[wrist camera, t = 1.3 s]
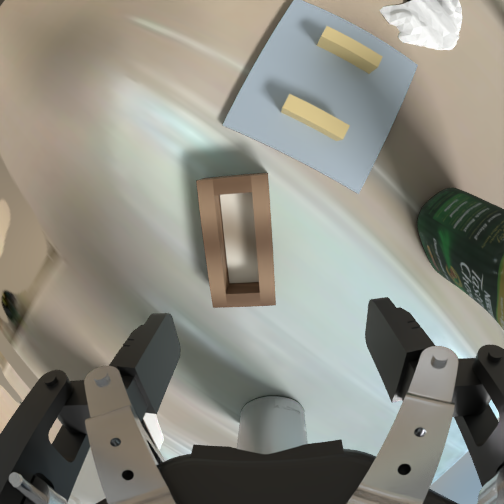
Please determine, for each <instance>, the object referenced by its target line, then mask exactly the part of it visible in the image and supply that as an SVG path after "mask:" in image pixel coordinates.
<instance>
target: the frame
mask: <svg viewBox="0 0 504 504" xmlns="http://www.w3.org/2000/svg"><path fill="white" fill-rule="evenodd" d="M196 182H197V191H198V200H199V209H200V218H201V226H202V234H203V241H204V249H205V256H206V264H207V271H208V277H209V284H210V291H211V297H212V304H213V308H217V307H248V306H270V305H276V301H275V281H274V262H273V245H272V228H271V213H270V198H269V183H268V173H257V174H244V175H232V176H221V177H211V178H203V179H200V180H197V181H196Z"/></svg>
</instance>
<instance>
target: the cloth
mask: <svg viewBox="0 0 504 504" xmlns="http://www.w3.org/2000/svg"><path fill="white" fill-rule="evenodd" d="M407 1H409V2H406V3H404V4H400V5H392V6H385V7H383V8H382V9H381V10H379V11H380V12H381V13H382V15H383V16H384V18H385V19H386V20H387V21H388V22H389V24H391V25H395V26H397V28H398V30H399V31H400V33H399V35H398V37H399V39H400V40H401V41H402V42H403V43H409V44H415V45H417V46H424V47H427V48H434V49H436V50H444V49H445V50H450V49H453V48H454V47H455V45H456V44H457V42H456V41H457V40H458V38H459V36H458V35H459V31H460V29H461V28H460V27H461V24H462V14H461V12H462V9H461V5H460V3H459V0H407Z"/></svg>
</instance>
